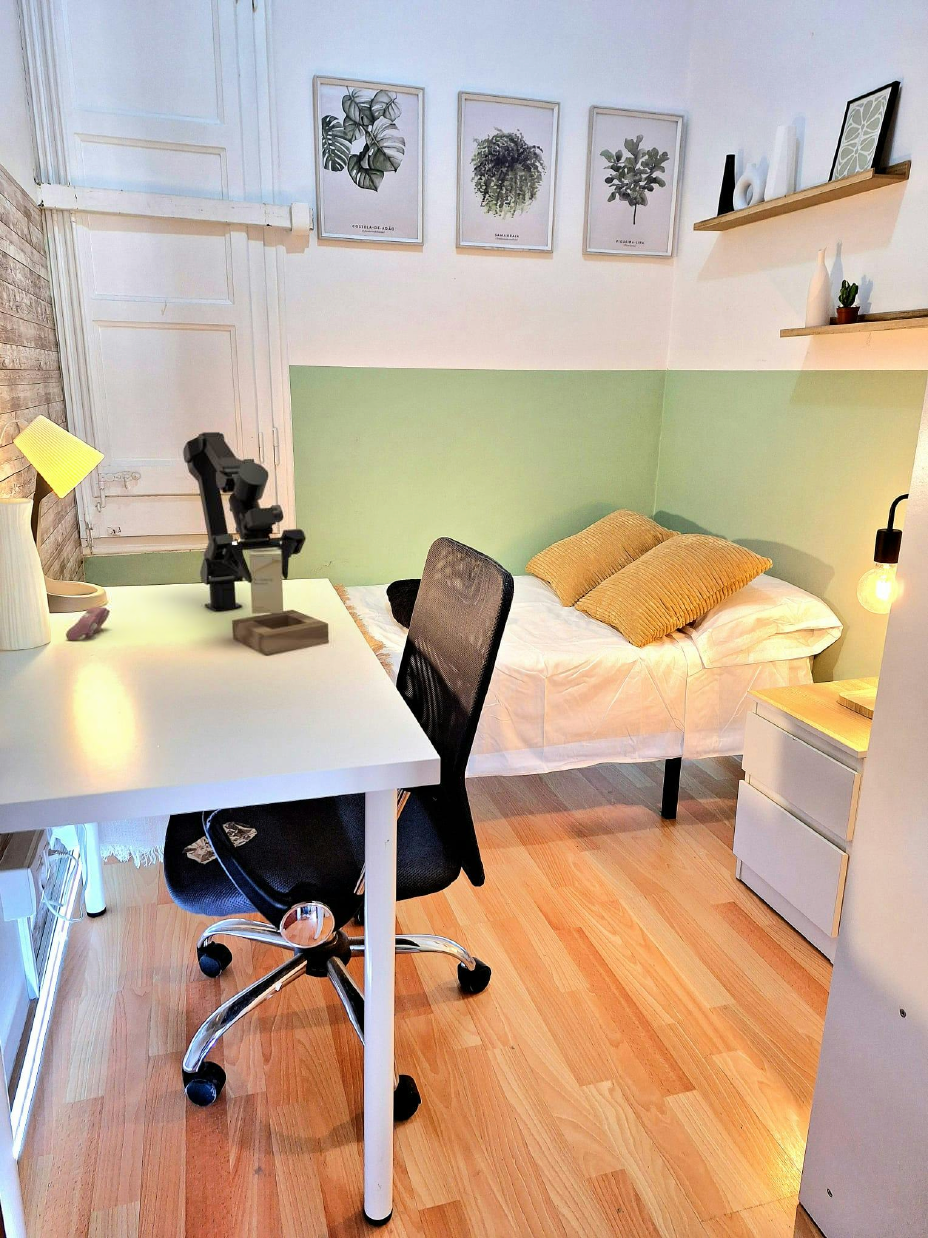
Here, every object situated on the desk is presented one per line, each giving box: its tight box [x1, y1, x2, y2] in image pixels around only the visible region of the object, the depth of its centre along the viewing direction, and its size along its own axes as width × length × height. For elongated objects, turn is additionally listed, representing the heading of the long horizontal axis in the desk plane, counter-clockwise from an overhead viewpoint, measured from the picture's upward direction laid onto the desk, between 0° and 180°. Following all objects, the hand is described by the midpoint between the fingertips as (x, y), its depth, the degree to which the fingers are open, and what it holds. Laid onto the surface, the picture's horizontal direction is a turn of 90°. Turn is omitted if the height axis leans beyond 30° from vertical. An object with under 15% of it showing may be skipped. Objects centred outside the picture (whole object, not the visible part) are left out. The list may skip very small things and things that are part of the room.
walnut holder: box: [231, 609, 329, 656], centre depth 171 cm, size 14×14×4 cm
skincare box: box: [249, 549, 284, 615], centre depth 166 cm, size 6×4×12 cm
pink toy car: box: [65, 605, 111, 642], centre depth 172 cm, size 10×5×7 cm, turn 0°
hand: (268, 579), depth 165 cm, fingers closed on skincare box, 7 cm apart
